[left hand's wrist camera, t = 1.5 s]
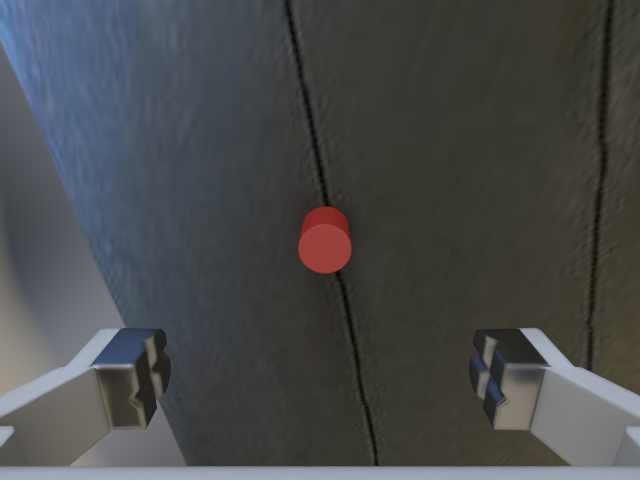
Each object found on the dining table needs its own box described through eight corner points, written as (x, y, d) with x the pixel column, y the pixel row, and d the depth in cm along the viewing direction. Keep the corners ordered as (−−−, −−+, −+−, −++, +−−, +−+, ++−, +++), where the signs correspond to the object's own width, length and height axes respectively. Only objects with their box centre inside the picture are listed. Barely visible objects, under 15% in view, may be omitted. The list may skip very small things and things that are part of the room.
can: (308, 254, 34) (305, 278, 30) (297, 211, 33) (292, 230, 29) (353, 245, 34) (356, 268, 30) (344, 201, 33) (346, 219, 28)
